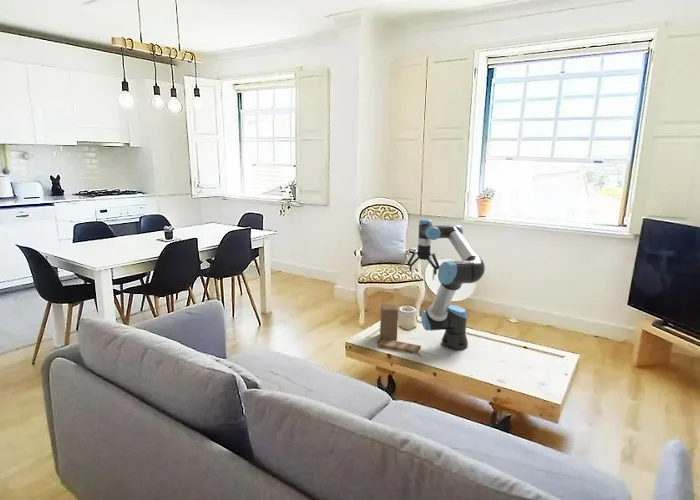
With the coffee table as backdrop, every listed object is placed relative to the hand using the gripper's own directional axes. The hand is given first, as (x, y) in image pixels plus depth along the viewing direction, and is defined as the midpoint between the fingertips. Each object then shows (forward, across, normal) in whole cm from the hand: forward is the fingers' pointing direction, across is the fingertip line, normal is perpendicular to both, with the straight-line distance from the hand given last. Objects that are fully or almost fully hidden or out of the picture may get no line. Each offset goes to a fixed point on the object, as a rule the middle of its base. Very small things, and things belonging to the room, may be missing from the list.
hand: (422, 278), depth 274 cm
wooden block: (+35, +15, +19) cm, 42 cm away
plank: (+35, +5, +30) cm, 46 cm away
